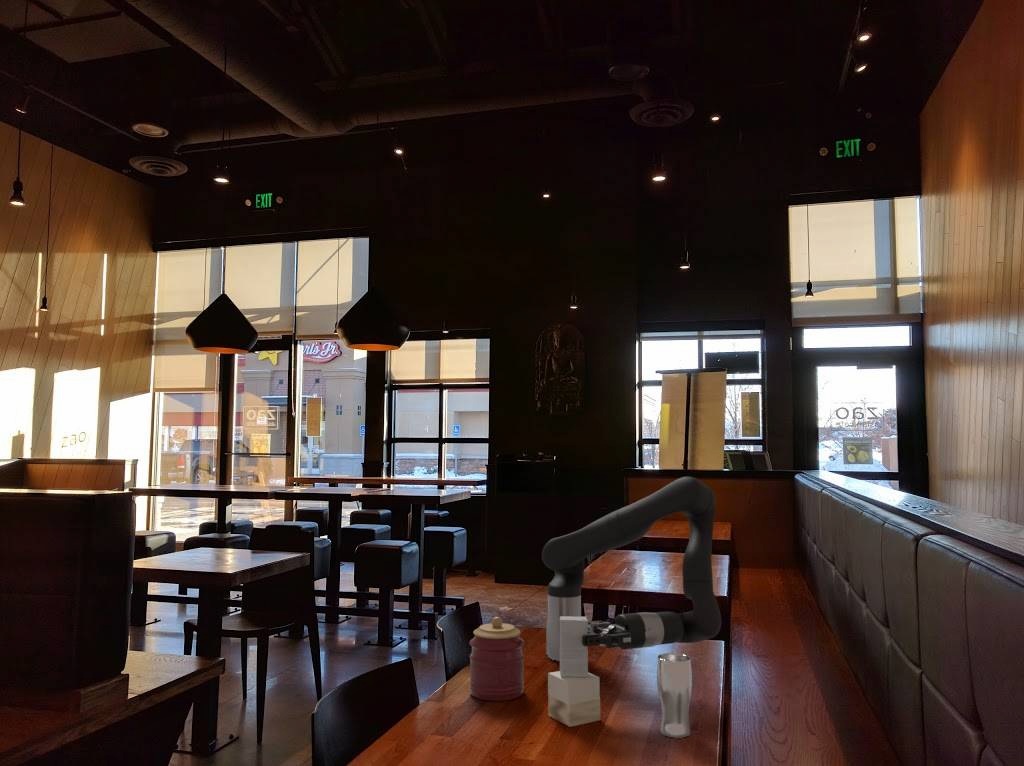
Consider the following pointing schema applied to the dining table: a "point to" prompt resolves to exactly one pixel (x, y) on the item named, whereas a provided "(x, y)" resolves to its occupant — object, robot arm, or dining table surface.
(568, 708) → the tower bottom block
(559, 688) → the tower top block
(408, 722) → the dining table surface
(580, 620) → the skincare box
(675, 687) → the beer glass
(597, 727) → the dining table surface
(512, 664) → the canister
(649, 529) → the robot arm
